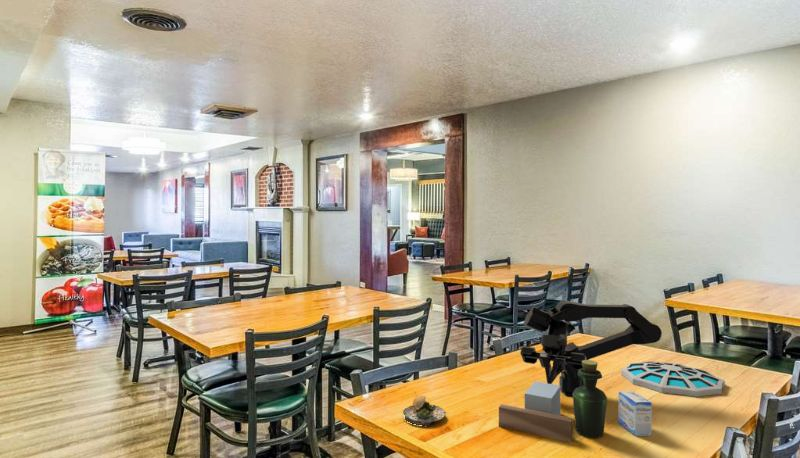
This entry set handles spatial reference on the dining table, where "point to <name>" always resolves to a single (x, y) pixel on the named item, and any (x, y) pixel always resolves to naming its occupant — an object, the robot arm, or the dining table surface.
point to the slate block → (543, 398)
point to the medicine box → (635, 413)
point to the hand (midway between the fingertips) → (548, 384)
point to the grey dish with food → (423, 412)
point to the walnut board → (536, 422)
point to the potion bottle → (589, 402)
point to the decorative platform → (673, 378)
